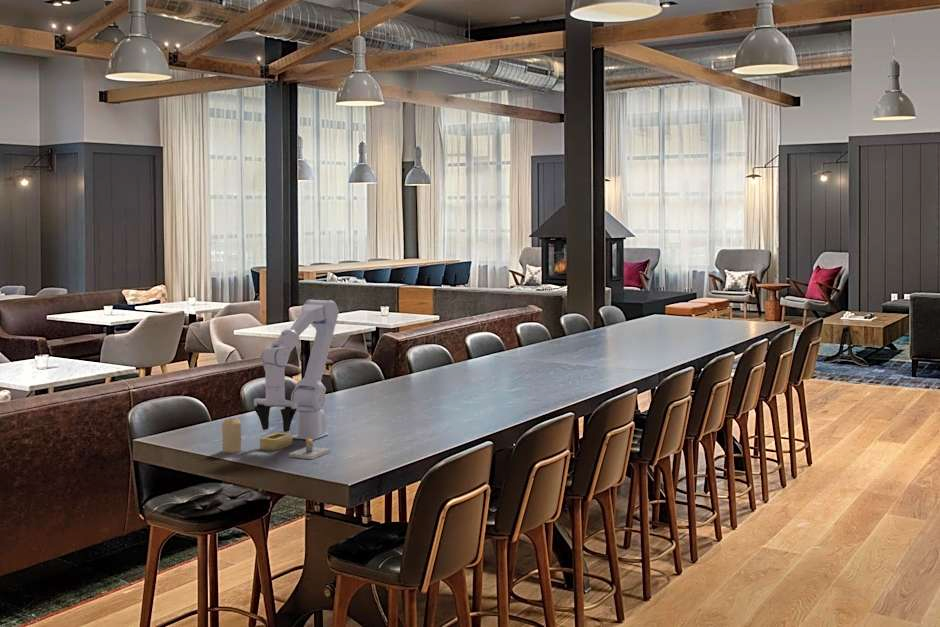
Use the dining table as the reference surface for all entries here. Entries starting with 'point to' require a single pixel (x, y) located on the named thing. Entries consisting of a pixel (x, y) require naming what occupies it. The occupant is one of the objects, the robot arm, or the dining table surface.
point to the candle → (231, 435)
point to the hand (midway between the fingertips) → (276, 430)
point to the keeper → (309, 451)
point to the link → (276, 441)
